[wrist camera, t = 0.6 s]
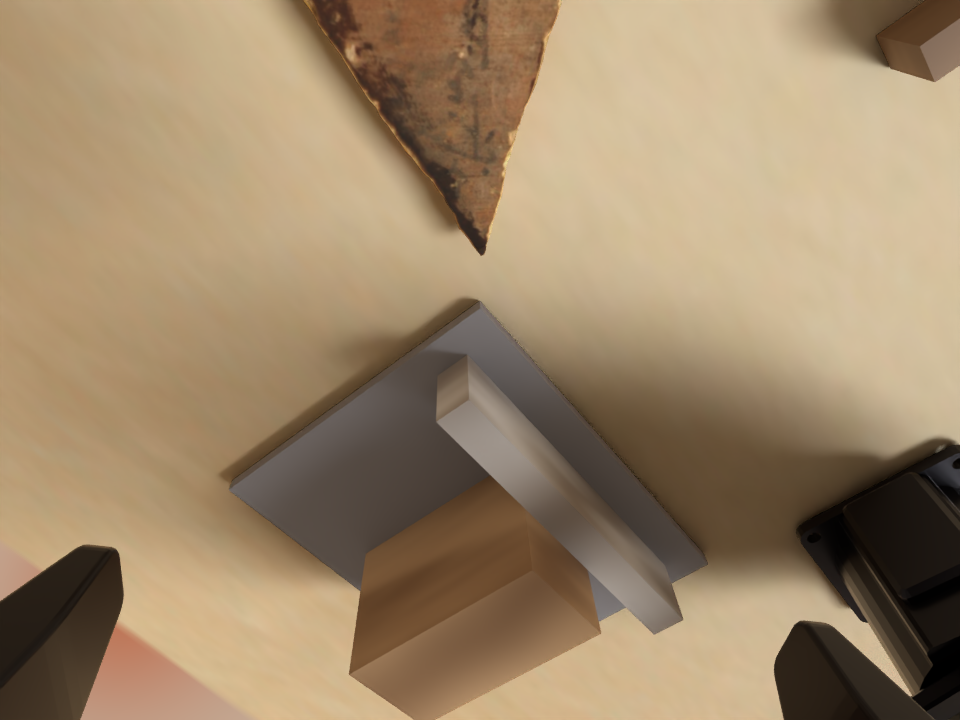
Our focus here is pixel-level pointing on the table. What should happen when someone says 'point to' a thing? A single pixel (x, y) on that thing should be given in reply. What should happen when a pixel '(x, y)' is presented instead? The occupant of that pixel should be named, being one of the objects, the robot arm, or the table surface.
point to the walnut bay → (924, 40)
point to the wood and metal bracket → (496, 566)
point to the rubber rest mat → (435, 458)
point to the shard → (447, 85)
